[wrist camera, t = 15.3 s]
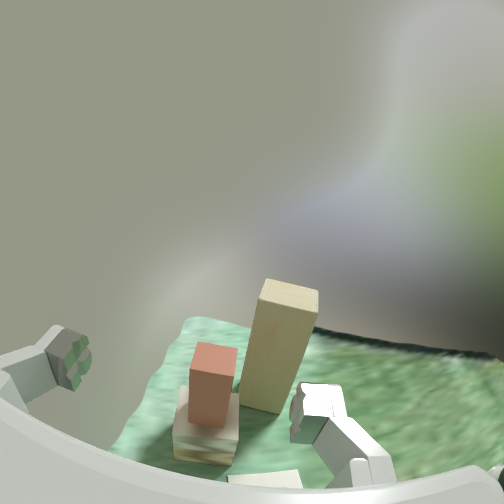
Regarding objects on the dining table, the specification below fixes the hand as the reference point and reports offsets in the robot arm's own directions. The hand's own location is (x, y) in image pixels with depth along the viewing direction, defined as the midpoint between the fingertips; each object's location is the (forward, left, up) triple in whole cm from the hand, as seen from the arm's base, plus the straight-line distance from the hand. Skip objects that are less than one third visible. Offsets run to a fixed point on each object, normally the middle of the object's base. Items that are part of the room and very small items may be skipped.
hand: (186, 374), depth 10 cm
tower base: (-1, -16, -32) cm, 36 cm away
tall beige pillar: (-10, -27, -32) cm, 43 cm away
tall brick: (-1, -16, -24) cm, 29 cm away
